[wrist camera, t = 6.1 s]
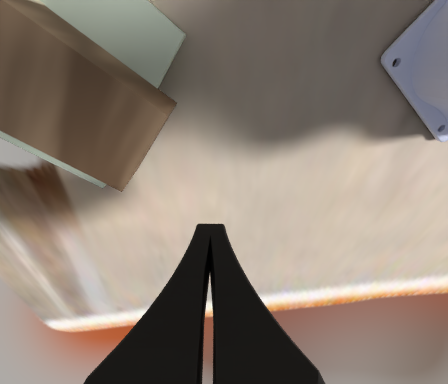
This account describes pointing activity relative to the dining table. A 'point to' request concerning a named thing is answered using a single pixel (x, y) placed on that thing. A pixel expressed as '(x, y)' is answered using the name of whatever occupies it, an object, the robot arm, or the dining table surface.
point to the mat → (119, 44)
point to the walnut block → (74, 96)
